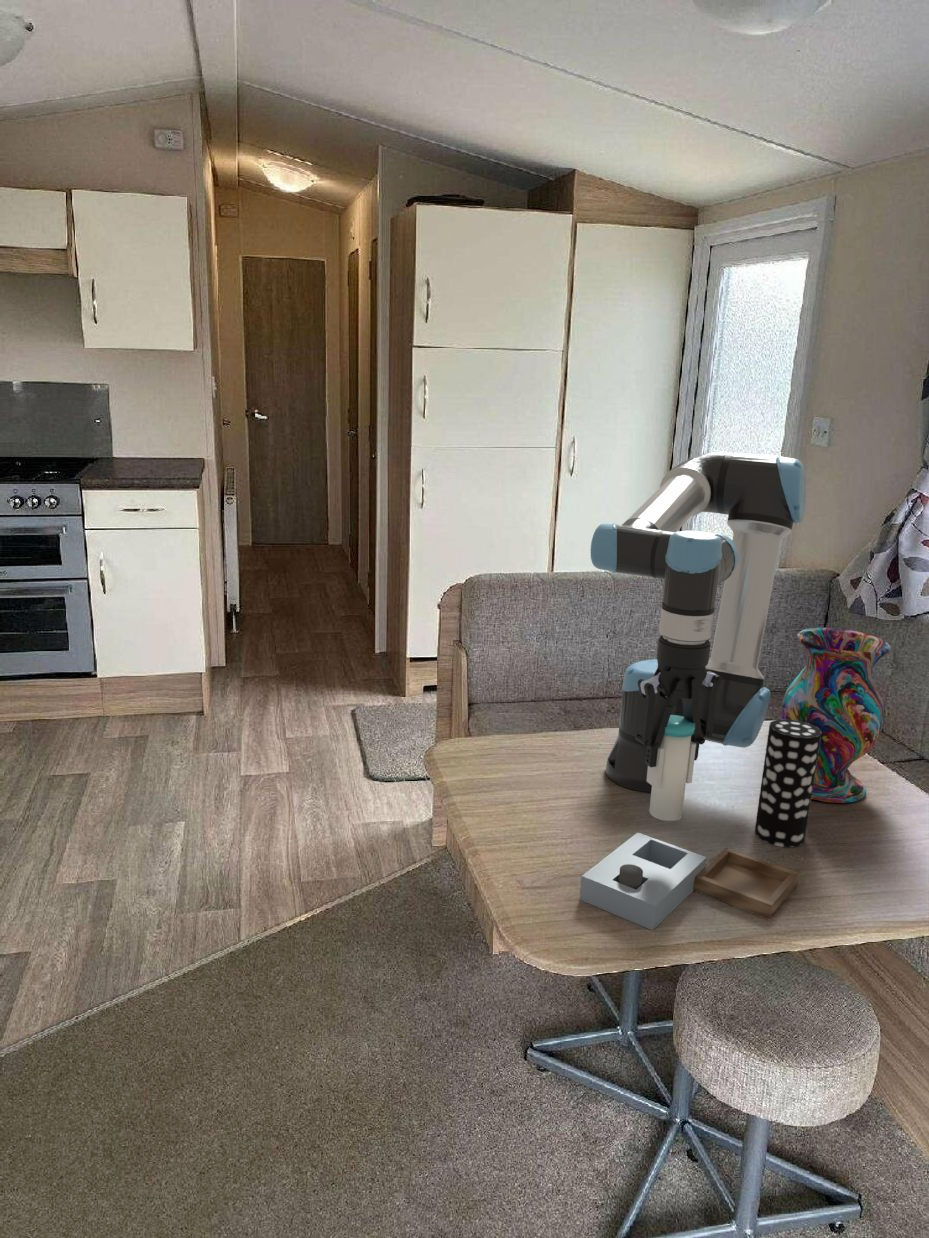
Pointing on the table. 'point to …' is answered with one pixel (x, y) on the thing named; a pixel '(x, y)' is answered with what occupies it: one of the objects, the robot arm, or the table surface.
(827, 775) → the vase
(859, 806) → the table surface
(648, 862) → the housing
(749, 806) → the table surface
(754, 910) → the tray
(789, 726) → the spotted tube
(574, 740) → the table surface
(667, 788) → the ball
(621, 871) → the plunger
